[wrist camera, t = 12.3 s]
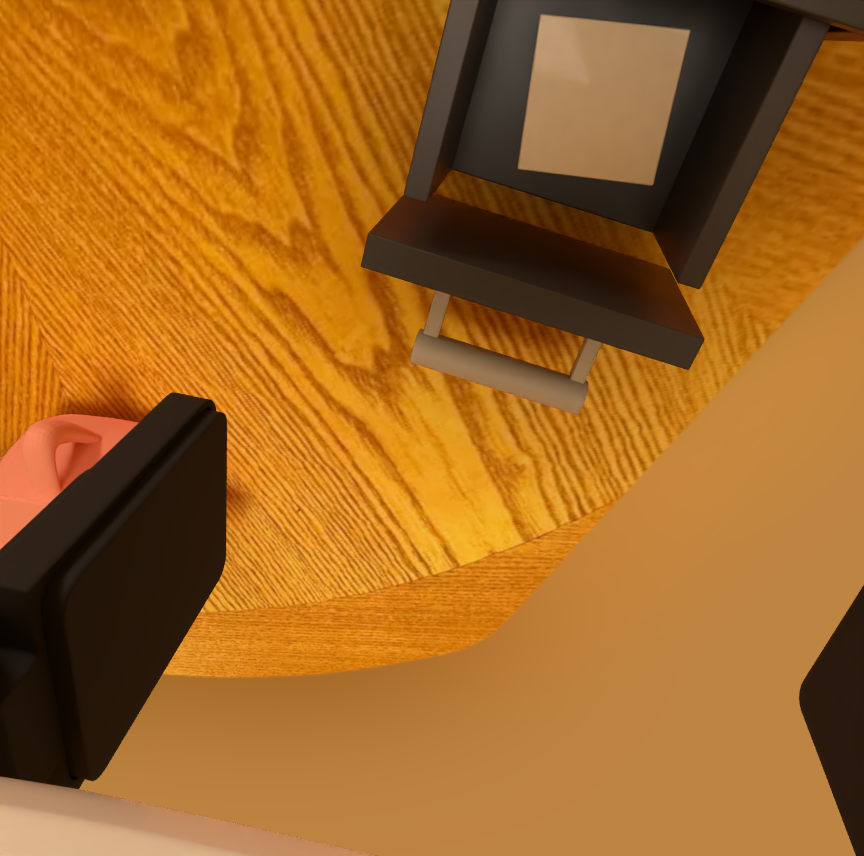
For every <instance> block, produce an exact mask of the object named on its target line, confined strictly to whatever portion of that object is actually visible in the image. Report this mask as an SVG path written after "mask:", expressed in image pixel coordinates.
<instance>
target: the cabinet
mask: <svg viewBox="0 0 864 856" xmlns="http://www.w3.org/2000/svg"><path fill="white" fill-rule="evenodd" d="M754 1H758V2H761V3H764V4H767V5H770V6H773V7H776V8H779V9H783V10H786V11H789V12H792V13H795V14H798V15H801V16H804V17H808V18H811V19H814V20H817V21H820V22H823V23H826V24H830V25H831V26H830V28H829V30H828V32H827V34H826V36H825V38H824V40H833V41H864V0H754Z"/></svg>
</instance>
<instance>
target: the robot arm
mask: <svg viewBox="0 0 864 856" xmlns="http://www.w3.org/2000/svg"><path fill="white" fill-rule="evenodd" d="M226 483H227V419H226V415H225V414H224V413H222V412H217V411H216V407H215V404H214V402H213V401H212V400H208V399H204V398H199V397H194V396H189V395H185V394H180V393H170V394H169V395H167V396H166V397H165V398H164V399H163V400H162V401H161V402H160V403H159V404H158V405H157V406H156V407H155V408H154V409H153V410H152V411H151V412H149V413H148V414H147V415H146V416H145V417H144V418H143V419H142V420H141V421H140V422H139V423H138V424H137V425H136V426H135V427H134V428H133V429H132V430H131V431H130V432H128V433H127V434H126V435H125V436H124V437H123V438H122V439H121V440H120V441H119V442H118V443H117V444H116V445H115V446H114V447H113V448H112V449H111V450H110V451H108V452H107V453H106V454H105V455H104V456H103V457H102V458H101V459H100V460H99V461H98V462H97V463H96V464H95V465H94V466H93V467H92V468H91V469H88V470H86V471H85V472H83V473H82V474H80V475H79V476H78V477H77V478H76V479H75V480H73V481H72V482H71V483H70V484H69V485H68V486H67V487H66V488H65V489H64V490H63V491H62V492H61V493H60V494H59V495H58V496H56V497H55V498H54V499H53V500H52V501H51V502H50V503H49V504H48V505H47V506H46V507H45V508H44V509H43V510H42V511H41V512H39V513H38V514H37V515H36V516H35V517H34V518H33V519H32V520H31V521H30V522H29V523H28V524H27V525H26V526H25V527H24V528H22V529H21V530H20V531H19V532H18V533H17V534H16V535H15V536H14V537H13V538H12V539H11V540H10V541H9V542H8V543H7V544H5V545H4V546H3V547H2V548H1V549H0V856H376V855H371V854H367V853H363V852H358V851H354V850H350V849H346V848H341V847H337V846H333V845H328V844H324V843H320V842H315V841H311V840H307V839H302V838H298V837H293V836H290V835H285V834H281V833H277V832H272V831H268V830H264V829H259V828H255V827H251V826H246V825H242V824H238V823H234V822H229V821H225V820H220V819H215V818H211V817H206V816H201V815H197V814H192V813H188V812H183V811H178V810H174V809H169V808H164V807H159V806H154V805H150V804H145V803H141V802H136V801H131V800H126V799H122V798H117V797H113V796H107V795H103V794H98V793H94V792H89V791H84V790H80V789H79V788H80V786H81V784H82V783H83V781H84V779H87V780H90V781H94V780H96V779H97V778H99V776H100V775H101V774H102V773H103V771H104V770H105V768H106V767H107V765H108V764H109V762H110V760H111V759H112V757H113V755H114V754H115V752H116V750H117V749H118V747H119V745H120V744H121V741H122V740H123V738H124V737H125V735H126V734H127V732H128V730H129V729H130V727H131V725H132V724H133V722H134V720H135V718H136V717H137V715H138V714H139V712H140V710H141V709H142V707H143V705H144V704H145V702H146V700H147V699H148V697H149V695H150V694H151V692H152V690H153V689H154V687H155V685H156V684H157V682H158V680H159V679H160V677H161V675H162V674H163V672H164V670H165V669H166V667H167V666H168V664H169V662H170V661H171V659H172V657H173V656H174V654H175V652H176V651H177V649H178V647H179V646H180V644H181V642H182V641H183V639H184V637H185V636H186V634H187V632H188V631H189V629H190V627H191V626H192V624H193V622H194V621H195V619H196V617H197V616H198V614H199V612H200V611H201V609H202V607H203V606H204V604H205V602H206V601H207V599H208V597H209V596H210V594H211V592H212V591H213V589H214V587H215V586H216V584H217V582H218V581H219V579H220V577H221V574H222V572H223V568H224V565H225V560H226ZM799 700H800V707H801V711H802V714H803V716H804V719H805V722H806V724H807V727H808V730H809V732H810V735H811V738H812V740H813V743H814V746H815V747H816V751H817V753H818V756H819V759H820V761H821V764H822V767H823V769H824V772H825V775H826V777H827V780H828V782H829V785H830V788H831V790H832V793H833V796H834V798H835V801H836V804H837V806H838V809H839V812H840V814H841V817H842V820H843V822H844V825H845V827H846V830H847V833H848V835H849V838H850V841H851V844H852V846H853V849H854V852H855V854H856V856H864V586H863V587H862V589H861V590H860V592H859V594H858V595H857V597H856V598H855V600H854V601H853V603H852V605H851V606H850V608H849V609H848V611H847V612H846V614H845V616H844V617H843V619H842V620H841V622H840V624H839V625H838V627H837V628H836V630H835V632H834V633H833V635H832V636H831V638H830V639H829V641H828V643H827V644H826V646H825V647H824V649H823V650H822V652H821V654H820V655H819V657H818V658H817V660H816V662H815V663H814V665H813V666H812V668H811V670H810V671H809V673H808V674H807V676H806V678H805V679H804V681H803V683H802V685H801V689H800V694H799Z"/></svg>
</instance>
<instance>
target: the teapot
mask: <svg viewBox="0 0 864 856" xmlns="http://www.w3.org/2000/svg"><path fill="white" fill-rule="evenodd" d="M138 423H139V422H134V421H128V420H122V419H115V418H108V417H99V416H90V415H79V414H65V415H58V416H54V417H50V418H46V419H44V420H41V421H38V422H35V423H33V424H32V425H31V426H30V427H29V428H28V429H27V431H26V433H25V434H24V435H23V436H22V437H20V439H19V440H18V441H17V442H16V443H15V444H14V445H13V446H12V447H11V448H10V449H9V450H8V452H7V453H6V454H5V455H4V457H3V458H2V459H1V461H0V549H1V548H2V547H3V546H4V545H5V544H7V543H8V542H9V541H10V540H11V539H12V538H13V537H14V536H15V535H16V534H17V533H18V532H19V531H20V530H21V529H22V528H24V527H25V526H26V525H27V524H28V523H29V522H30V521H31V520H32V519H33V518H34V517H35V516H36V515H37V514H38V513H39V512H41V511H42V510H43V509H44V508H45V507H46V506H47V505H48V504H49V503H50V502H51V501H52V500H53V499H54V498H55V497H56V496H58V495H59V494H60V493H61V492H62V491H63V490H64V489H65V488H66V487H67V486H68V485H69V484H70V483H71V482H72V481H73V480H75V479H76V478H77V477H78V476H79V475H80V474H82V473H83V472H85V471H86V470H88V469H91V468H92V467H93V466H94V465H95V464H96V463H97V462H98V461H99V460H100V459H101V458H102V457H103V456H104V455H105V454H106V453H107V452H108V451H110V450H111V449H112V448H113V447H114V446H115V445H116V444H117V443H118V442H119V441H120V440H121V439H122V438H123V437H124V436H125V435H126V434H127V433H128V432H130V431H131V430H132V429H133V428H134V427H135V426H136V425H137V424H138Z"/></svg>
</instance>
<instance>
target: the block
mask: <svg viewBox="0 0 864 856" xmlns="http://www.w3.org/2000/svg"><path fill="white" fill-rule="evenodd" d="M689 36H690V29H684V28H674V27H665V26H655V25H646V24H636V23H627V22H617V21H607V20H598V19H588V18H579V17H569V16H560V15H550V14H540V17H539V24H538V30H537V37H536V44H535V51H534V58H533V65H532V71H531V78H530V85H529V92H528V99H527V106H526V112H525V119H524V126H523V133H522V140H521V146H520V153H519V160H518V169H521V170H529V171H537V172H545V173H553V174H561V175H569V176H577V177H586V178H594V179H602V180H610V181H618V182H626V183H634V184H642V185H650V186H651V185H653V184H654V180H655V176H656V171H657V167H658V163H659V159H660V155H661V151H662V147H663V143H664V139H665V134H666V130H667V126H668V122H669V118H670V114H671V110H672V106H673V101H674V97H675V93H676V89H677V85H678V81H679V77H680V73H681V69H682V64H683V60H684V56H685V52H686V48H687V44H688V40H689Z"/></svg>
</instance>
